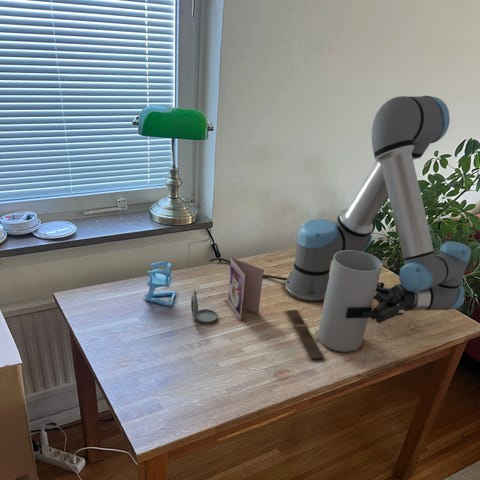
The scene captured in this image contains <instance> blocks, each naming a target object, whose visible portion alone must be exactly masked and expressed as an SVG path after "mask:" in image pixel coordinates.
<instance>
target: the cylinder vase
mask: <svg viewBox="0 0 480 480" xmlns="http://www.w3.org/2000/svg"><path fill="white" fill-rule="evenodd" d="M383 267H384V266H383V262H382V260H381V259H380V258H378V257H377V256H375V255H373V254H371V253H368V252H365V251H362V252H361V251H354V250H344V251H339V252H337V253H335V254H334V256H333V260H332V261H331V266H330V271H329V281H328V285H327V290H326V295H325V300H323V305H322V309H321V310H322V311H321V315H320V319H319V324H318V329H317V339H318V340H319V342H320V343H321V344H322V345H323V346H325V347H326V348H328V349H330V350H333V351H336V352H340V353H342V352H343V353H348V352H349V353H350V352H354V351H356V350H357V349H358V350H359V348H360V347H361V345H362V343H363V339H364V336H365V332H366V328H367V324H368V321H369V318H346V313H347V309H348V308H358V307H371V308H372V306H373V303H374V300H375V299H374V295H375V296H376V293H377V292H376V288H377V284H378V282H379V280H380V276H381V273H382V269H383ZM375 292H376V293H375Z"/></svg>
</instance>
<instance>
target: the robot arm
mask: <svg viewBox="0 0 480 480" xmlns="http://www.w3.org/2000/svg"><path fill="white" fill-rule="evenodd" d="M450 123H451V117H450V110H449V108H448V106H447V104H446V103H445V102H444V100H442V99H441V98H439V97H436V96H431V95H421V96H405V95H404V96H402V95H401V96H395V97H392V98H390V99H388V100H386V102H385V103H383V104H382V105H381V107H379V109H378V110H377V112H376V113H375V116H374V119H373V122H372V126H371V145H372V151H373V155H374V160H375V162H374V164H373V165H372V168H371V169H370V171H369V172H368V175H366V177H365V180H364V181H363V182H362V184H361V186H360V187H359V189H358V191H357V193H356V195H355V196H354V198H353V200H352V201H351V203H350V204H349V206H348V208H343V209H342V210H341V211H340V212H339V214H338V215H337V217H336V219H335V221H332V220H329V219H324V218H320V219H318V218H315V219H314V218H313V219H309V220H307V221H305V222H304V223H303V224H301V226H300V227H299V232H298V235H297V242H296V247H295V255H294V263H293V267H292V269H291V270H290V273H289V274H288V277H282V276H278V275H277V276H276V275H268V274H263V278H268V279H275V280H281V281H285V284H284V291H285V292H286V293H287V294H288V295H289V296H290V297H292V298H294V299H296V300H299V301H302V302H308V303H317V302H318V303H319V302H324V300H325V295H326V290H327V285H328V281H329V276H330V271H331V266H332V261H333V256H334V254H335V253H337V252H339V251H344V250H354V251H361V252H365V250H367V248H368V247H369V246H370V244H371V243H372V239H373V230H374V224H373V221H374V219H375V218H376V216H377V215H378V213H379V212H380V210H381V209H382V208H383V206H384V204H385V203H386V201H387V200H389V204H390V209H391V213H392V217H393V220H394V225H395V230H396V234H397V237H398V242H399V246H400V249H401V254H402V257H403V263H404V265H403V266H402V267H401V268H400V270H399V275H398V280H399V283H397V284H395V285H393V286H392V287H391V288H387V287H385V282H381V281H380V282H379V281H378V284H377V288H376V292H375V295H374V299H373V300H375V301H376V302H377V303H378V304H377V305H376V306H374V307H372V306H371V307H358V308H348V309H347V313H346V318H368V319H371V320H375V322H376V323H378V324H381V323H383V322H385V321H388V320H390V319H392V318H395V317H397V316H404V312H416V311H418V312H419V311H449V310H455V309H459V308H460V307H461V306H462V305H464V302H465V299H466V298H465V294H466V291H465V289H464V287H463V285H462V284H461V283H462V279H463V277H464V274H465V271H466V270H467V267H468V264H469V263H470V258H471V255H472V249H471V248H470V247H469V246H468V245H466V244H464V243H462V242H458V241H450V240H449V241H445V242H443V244H442V245H441V248H440V249H439V253H437V254H435V250H434V245H433V241H432V237H431V232H430V227H429V223H428V220H427V215H426V211H425V206H424V201H423V197H422V194H421V189H420V185H419V181H418V175H417V171H416V168H415V163H414V160H418V159H421V158H422V157H423V155H424V153H425V152H426V151H427V149H428V148H429V146H430V145H431V144H434V143H436V142H438V141H440V140H441V139H442V138H443V137H444V136H445V135H446V134H447V132H448V129H449V126H450ZM215 261H221V262H225V263H228V264H230V265H231V260H229V259H226V258H223V257H213V258H211V259H210V260H208V262H210V263H212V262H215Z"/></svg>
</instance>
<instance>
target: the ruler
mask: <svg viewBox="0 0 480 480" xmlns="http://www.w3.org/2000/svg"><path fill="white" fill-rule="evenodd" d="M286 313H287V315H288V317H289V319H290V321H291V322H292V324H293V326H294V328H295V330H296V332H297V334H298V336H299V338H300V339H301V342H302V343H303V346H304V347H305V349H306V351H307V353H308V355H309V357H310V359H311V361H323V360H324V356H323V354H322V352H321V350H320V349H319V348H318V345H317V343H316V342H315V340H314V338H313V337H312V335H311V332H310V331H309V329H308V327H307V326H306V324H305V322H304V320H303V318H302V317H301V315H300V313H299V311H298V309H297V310H295V309H294V310H293V309H292V310H291V309H290V310H287V312H286Z"/></svg>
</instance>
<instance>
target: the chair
mask: <svg viewBox="0 0 480 480" xmlns="http://www.w3.org/2000/svg"><path fill="white" fill-rule="evenodd" d="M158 266H164V267H165V268H155V267H158ZM172 266H173V265H172V264H171V263H169V262H166V261H158V262H153V263H151V268H152V270H148V271H147V274H148V276H149V279H148V281H147V283H146V284H147V286H149V289H148V293H147V295H146V296H145V300H146V301H147V302H152V303H156V304H160V305H162V306H168V307H172V306H173V303H174V301H175V297H176V291H159V292H158V291H157V292H156V291H155V290H156V289H157V288H170V286H171V283H172V280H173V278H174V277H173V274H172V273H171V271H172V268H173V267H172ZM163 296H171V299H170V301H165V300H162V299H159V298H155V297H163Z"/></svg>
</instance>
